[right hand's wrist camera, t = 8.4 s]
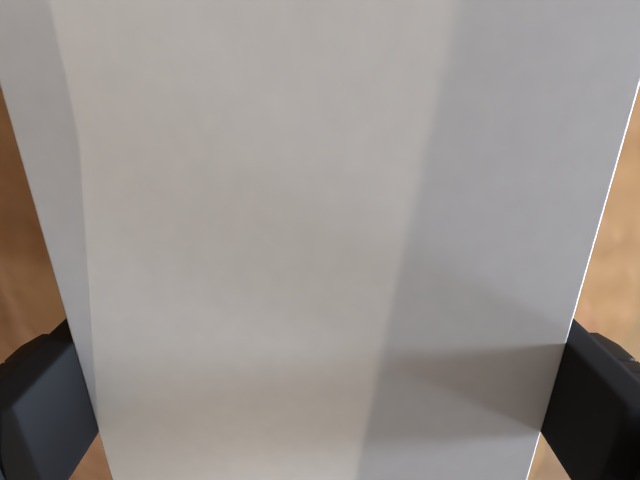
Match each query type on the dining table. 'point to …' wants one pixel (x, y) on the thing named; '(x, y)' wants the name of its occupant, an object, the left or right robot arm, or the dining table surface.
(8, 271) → the dining table surface
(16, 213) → the dining table surface
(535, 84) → the cabinet
